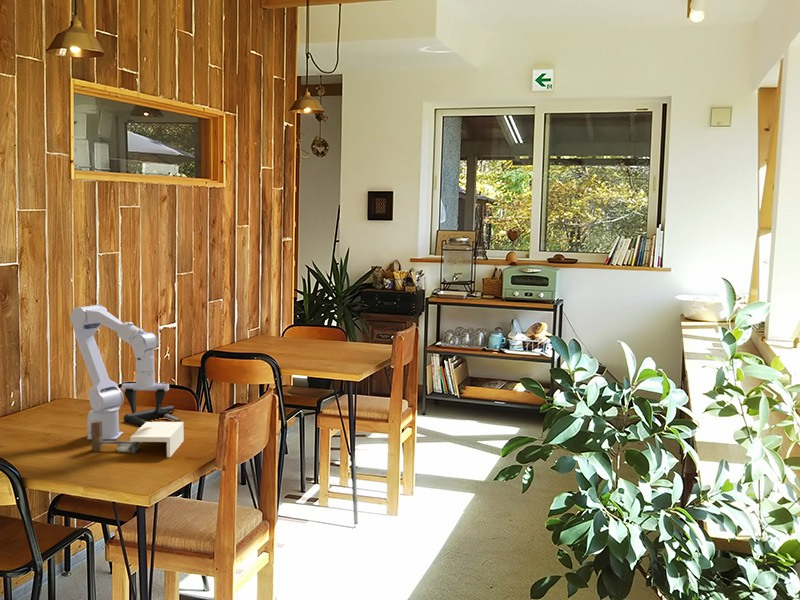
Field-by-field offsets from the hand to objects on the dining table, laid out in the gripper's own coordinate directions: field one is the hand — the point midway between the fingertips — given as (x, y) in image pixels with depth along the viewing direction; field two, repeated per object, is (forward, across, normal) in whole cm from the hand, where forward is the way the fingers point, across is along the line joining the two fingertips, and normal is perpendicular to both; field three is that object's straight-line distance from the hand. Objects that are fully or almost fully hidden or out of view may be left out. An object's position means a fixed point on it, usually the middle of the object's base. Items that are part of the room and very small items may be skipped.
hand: (146, 412), depth 269 cm
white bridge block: (+10, +5, -5) cm, 13 cm away
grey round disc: (+11, -4, -7) cm, 14 cm away
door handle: (+11, -4, +30) cm, 32 cm away
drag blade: (+10, -8, -7) cm, 15 cm away
